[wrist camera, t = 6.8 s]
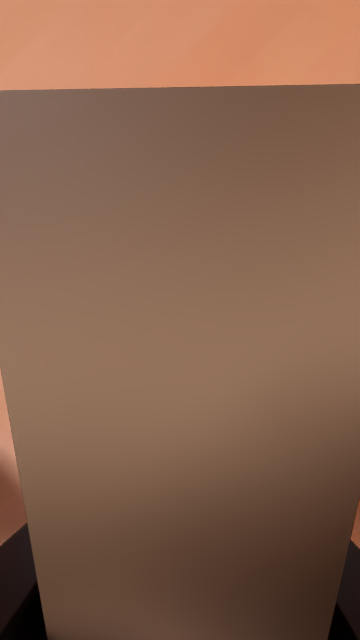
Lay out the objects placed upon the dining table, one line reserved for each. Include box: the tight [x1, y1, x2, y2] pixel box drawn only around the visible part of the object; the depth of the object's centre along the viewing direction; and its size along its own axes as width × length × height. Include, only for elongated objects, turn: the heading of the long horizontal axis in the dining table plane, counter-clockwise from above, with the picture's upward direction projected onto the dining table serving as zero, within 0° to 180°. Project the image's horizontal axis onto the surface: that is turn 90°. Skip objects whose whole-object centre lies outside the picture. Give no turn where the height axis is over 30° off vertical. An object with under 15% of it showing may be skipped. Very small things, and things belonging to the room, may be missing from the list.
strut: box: [0, 84, 360, 640], centre depth 6 cm, size 14×4×5 cm, turn 179°
